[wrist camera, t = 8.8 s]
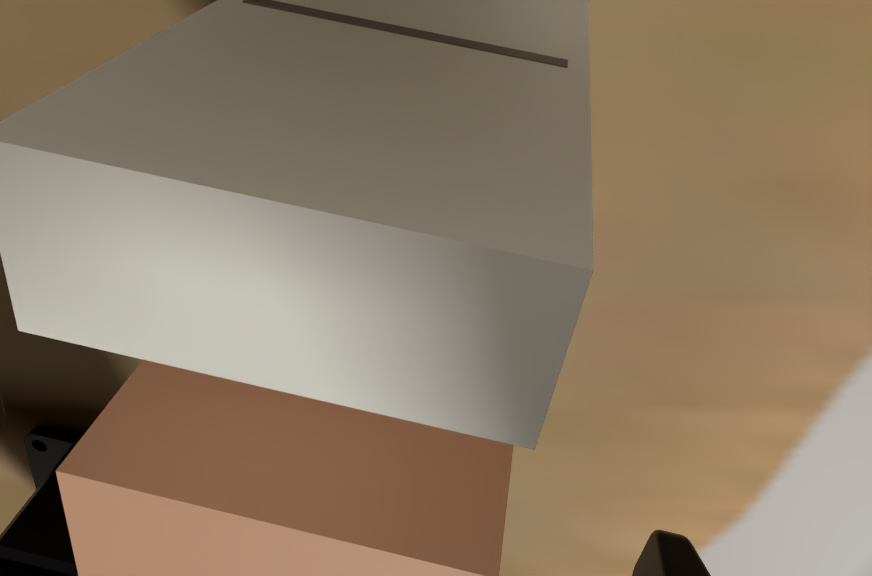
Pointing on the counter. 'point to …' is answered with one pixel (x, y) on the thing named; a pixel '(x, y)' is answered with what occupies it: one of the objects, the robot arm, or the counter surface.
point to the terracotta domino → (276, 486)
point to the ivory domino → (321, 204)
